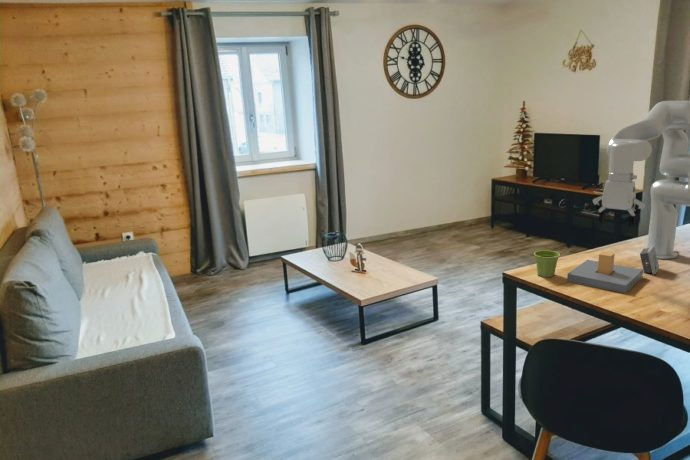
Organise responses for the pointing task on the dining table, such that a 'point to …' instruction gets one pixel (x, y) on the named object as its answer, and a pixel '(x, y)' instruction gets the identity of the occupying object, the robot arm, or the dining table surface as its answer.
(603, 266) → the plug
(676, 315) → the dining table surface
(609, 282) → the socket plate
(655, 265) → the electrical switch
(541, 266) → the plant pot
